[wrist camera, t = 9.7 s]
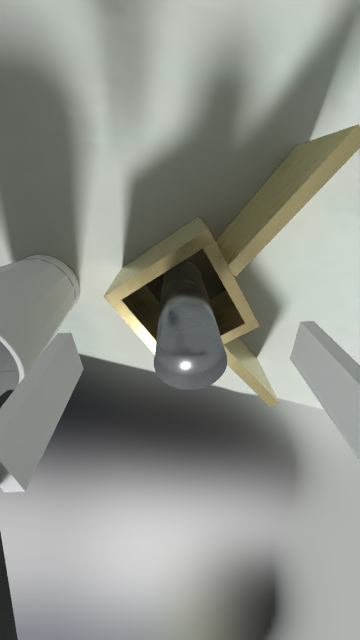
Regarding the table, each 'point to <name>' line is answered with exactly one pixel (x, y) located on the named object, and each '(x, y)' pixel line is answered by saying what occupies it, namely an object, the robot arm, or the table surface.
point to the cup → (31, 312)
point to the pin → (187, 332)
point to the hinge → (233, 252)
